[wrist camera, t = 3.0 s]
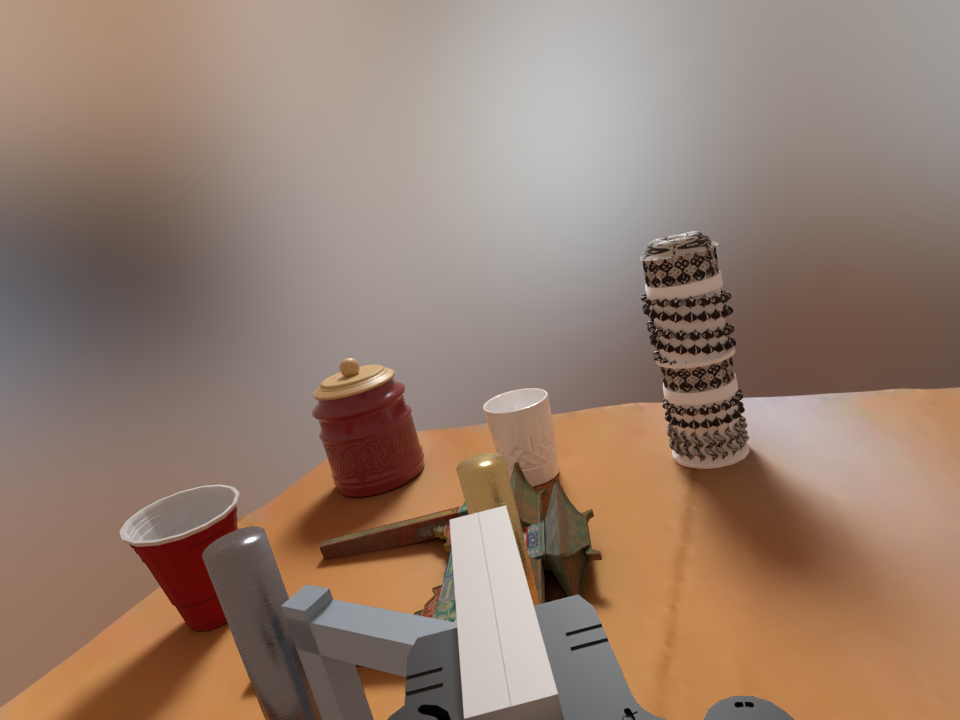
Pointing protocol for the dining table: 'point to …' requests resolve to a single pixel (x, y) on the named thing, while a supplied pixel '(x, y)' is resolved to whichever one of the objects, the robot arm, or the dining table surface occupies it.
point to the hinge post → (260, 622)
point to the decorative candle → (694, 351)
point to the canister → (367, 430)
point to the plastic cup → (185, 547)
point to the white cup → (524, 433)
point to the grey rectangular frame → (350, 646)
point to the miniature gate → (547, 541)
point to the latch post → (494, 500)
